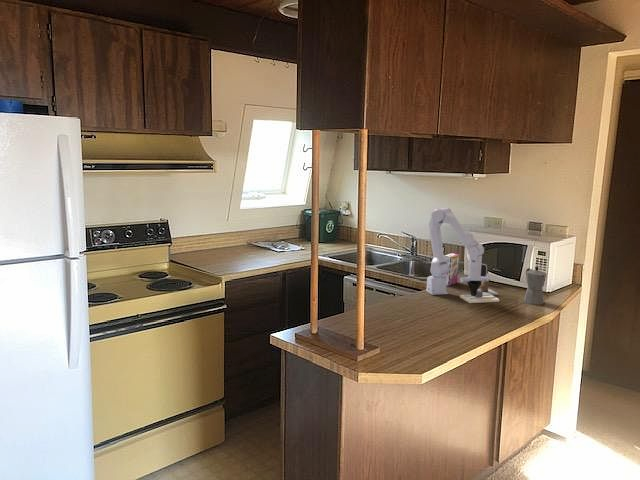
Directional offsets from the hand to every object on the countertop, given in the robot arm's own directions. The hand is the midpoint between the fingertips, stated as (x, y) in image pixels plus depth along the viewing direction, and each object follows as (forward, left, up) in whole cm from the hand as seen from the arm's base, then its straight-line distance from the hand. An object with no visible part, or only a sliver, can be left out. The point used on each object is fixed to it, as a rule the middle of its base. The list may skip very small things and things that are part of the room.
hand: (473, 295), depth 259 cm
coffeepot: (+28, -7, -2) cm, 29 cm away
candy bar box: (+3, +31, -2) cm, 31 cm away
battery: (+21, +29, -2) cm, 36 cm away
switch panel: (+4, 0, -2) cm, 4 cm away
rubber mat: (+13, +11, -2) cm, 17 cm away
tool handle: (+12, +11, -1) cm, 17 cm away
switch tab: (+3, 0, -1) cm, 3 cm away
